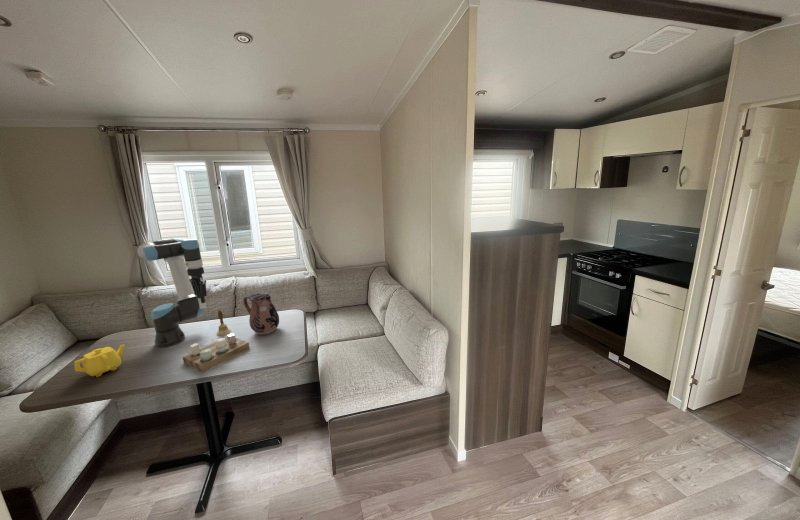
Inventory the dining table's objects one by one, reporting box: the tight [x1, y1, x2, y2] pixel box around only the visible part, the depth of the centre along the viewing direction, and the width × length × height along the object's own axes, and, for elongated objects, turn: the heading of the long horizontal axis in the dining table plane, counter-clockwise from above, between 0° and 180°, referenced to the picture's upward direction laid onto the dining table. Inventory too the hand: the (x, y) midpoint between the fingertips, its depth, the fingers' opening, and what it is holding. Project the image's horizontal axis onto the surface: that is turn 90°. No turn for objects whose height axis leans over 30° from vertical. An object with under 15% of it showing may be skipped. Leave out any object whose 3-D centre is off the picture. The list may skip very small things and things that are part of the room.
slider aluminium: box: [226, 333, 237, 345], centre depth 171 cm, size 3×3×5 cm
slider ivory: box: [189, 342, 201, 355], centre depth 162 cm, size 3×3×5 cm
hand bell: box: [216, 309, 232, 337], centre depth 193 cm, size 8×8×16 cm
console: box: [182, 336, 250, 373], centre depth 167 cm, size 19×26×4 cm
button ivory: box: [214, 337, 227, 349], centre depth 162 cm, size 5×5×4 cm
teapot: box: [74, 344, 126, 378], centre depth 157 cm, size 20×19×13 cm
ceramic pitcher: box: [242, 291, 280, 336], centre depth 191 cm, size 18×21×25 cm
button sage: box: [200, 349, 213, 361], centre depth 156 cm, size 5×5×4 cm
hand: (203, 307), depth 167 cm, fingers closed
